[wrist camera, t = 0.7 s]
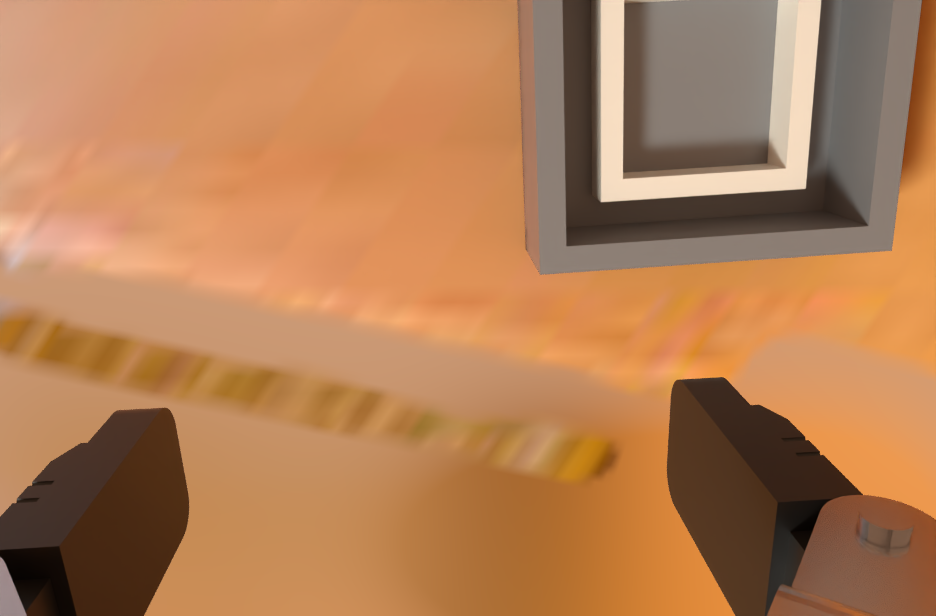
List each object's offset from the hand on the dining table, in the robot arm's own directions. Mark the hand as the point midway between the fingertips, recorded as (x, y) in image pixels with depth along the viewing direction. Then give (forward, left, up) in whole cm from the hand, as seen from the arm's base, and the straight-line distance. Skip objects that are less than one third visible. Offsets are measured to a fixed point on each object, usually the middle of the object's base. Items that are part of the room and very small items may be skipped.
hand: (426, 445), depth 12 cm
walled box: (-4, +13, -26) cm, 29 cm away
